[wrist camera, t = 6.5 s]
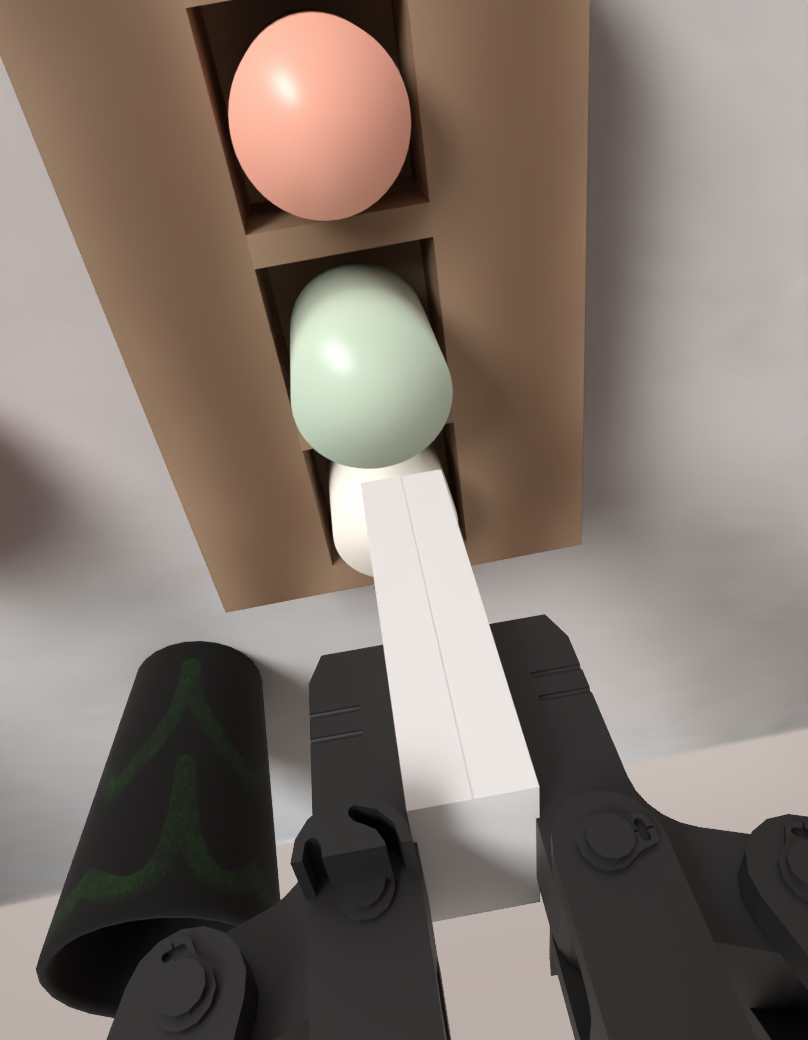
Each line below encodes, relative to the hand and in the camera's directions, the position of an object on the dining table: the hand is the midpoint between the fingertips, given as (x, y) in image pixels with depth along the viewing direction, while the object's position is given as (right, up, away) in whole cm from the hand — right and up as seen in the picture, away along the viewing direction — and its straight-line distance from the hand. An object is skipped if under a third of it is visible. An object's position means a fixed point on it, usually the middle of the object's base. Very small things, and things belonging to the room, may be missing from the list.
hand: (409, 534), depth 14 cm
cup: (-9, -7, +19) cm, 22 cm away
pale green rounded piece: (-1, +5, +5) cm, 8 cm away
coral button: (-2, +11, +4) cm, 11 cm away
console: (-2, +8, +9) cm, 12 cm away
